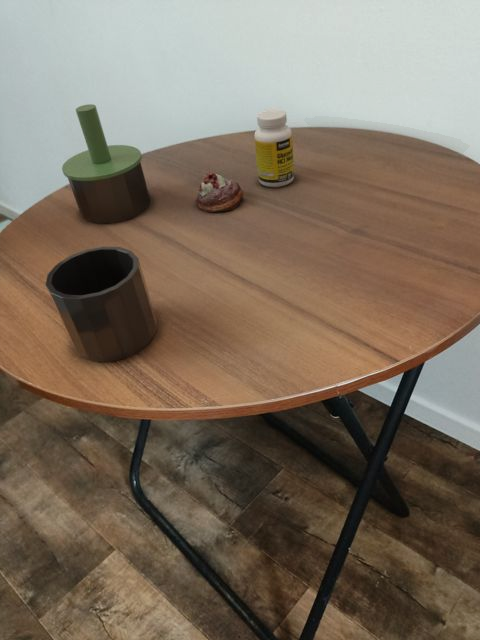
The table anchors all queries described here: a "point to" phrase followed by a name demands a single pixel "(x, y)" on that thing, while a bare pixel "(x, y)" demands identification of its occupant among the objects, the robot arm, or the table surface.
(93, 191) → the tin
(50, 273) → the cup
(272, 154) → the pill bottle
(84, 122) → the lid
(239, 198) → the pastry
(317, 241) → the table surface
